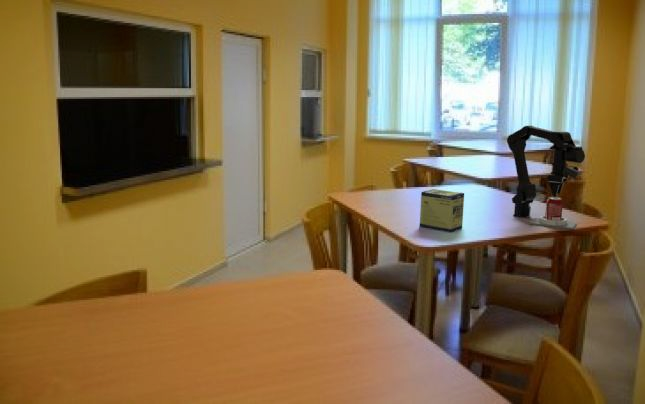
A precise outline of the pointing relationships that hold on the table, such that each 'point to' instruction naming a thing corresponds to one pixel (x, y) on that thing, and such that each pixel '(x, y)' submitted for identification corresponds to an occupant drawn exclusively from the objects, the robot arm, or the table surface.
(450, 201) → the protein box
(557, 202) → the soda can
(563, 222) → the holder
